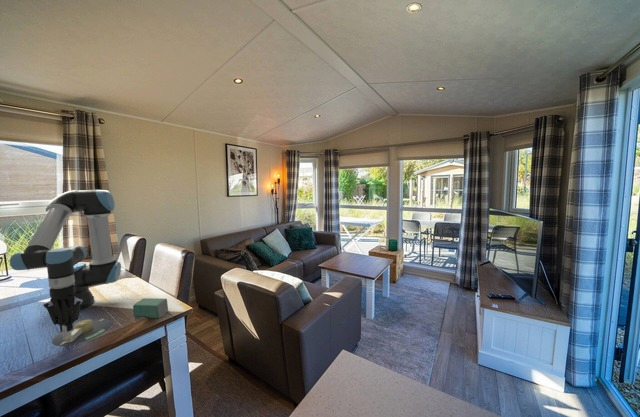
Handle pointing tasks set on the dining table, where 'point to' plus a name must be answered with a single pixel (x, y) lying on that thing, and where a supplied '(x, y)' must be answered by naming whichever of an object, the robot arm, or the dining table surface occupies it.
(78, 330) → the round-headed handle
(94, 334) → the plate
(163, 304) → the box
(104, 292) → the dining table surface
